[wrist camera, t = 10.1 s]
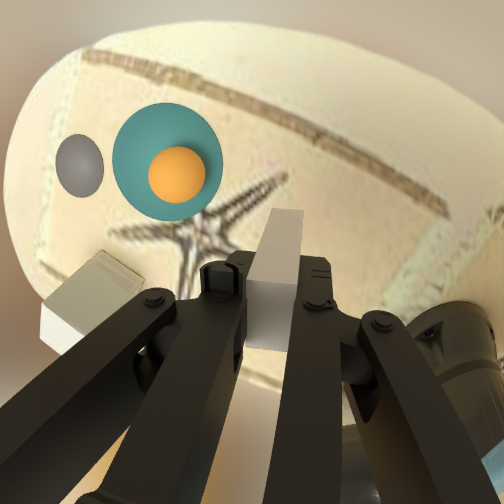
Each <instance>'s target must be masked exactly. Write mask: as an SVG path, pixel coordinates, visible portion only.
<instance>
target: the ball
mask: <svg viewBox="0 0 504 504" xmlns="http://www.w3.org/2000/svg"><path fill="white" fill-rule="evenodd" d="M148 179H149V184H150V186H151V189H152V190H153V192H154V193H155V194H156V195H157V196H158V197H159V198H160V199H162V200H164V201H166V202H170V203H182V202H186V201H188V200H190V199H192V198H193V197H195V196H196V195H197V194H198V192H199V191H200V190H201V188H202V186H203V184H204V180H205V168H204V164H203V162H202V160H201V159H200V157H199V156H198V155H197V154H196V153H195V152H194V151H192V150H190V149H188V148H185V147H180V146H175V147H170V148H167V149H165V150H163V151H161V152H160V153H159V154H157V155H156V157H155V158H154V159H153V161H152V162H151V165H150V167H149V172H148Z"/></svg>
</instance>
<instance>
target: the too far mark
mask: <svg viewBox="0 0 504 504" xmlns="http://www.w3.org/2000/svg"><path fill="white" fill-rule="evenodd" d="M103 170H104V169H103V160H102V156H101V153H100V151H99V149H98V147H97V146H96V144H95V143H94V142H93V141H92V140H91V139H89V138H88V137H86V136H84V135H72V136H70V137H68V138H66V139H65V140H64V141H63V142H62V143H61V145H60V146H59V149H58V151H57V155H56V172H57V176H58V178H59V181H60V183H61V184H62V186H63V187H64V189H65V190H66V191H67V192H69V193H70V194H71V195H73V196H75V197H80V198H83V197H88V196H90V195H92V194H93V193H94V192H95V191H96V190H97V189H98V188H99V186H100V184H101V182H102V178H103Z"/></svg>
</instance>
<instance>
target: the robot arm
mask: <svg viewBox="0 0 504 504" xmlns="http://www.w3.org/2000/svg"><path fill="white" fill-rule="evenodd" d="M303 213H304V211H301V210H289V209H277V208H272V210H271V213H270V216H269V218H268V221H267V224H266V227H265V229H264V232H263V235H262V238H261V240H260V243H259V246H258V248H257V251H256V252H251V251H241V250H236V251H235V252H233V253H232V254H230V255H229V256H228V258H227V260H226V261H213V262H209V263H207V264H205V265H203V266H202V267H201V268H200V281H201V293H200V295H199V297H198V298H195V299H189V300H175V295H174V294H173V292H172V291H170V290H168V289H165V288H150V289H146V290H144V291H142V292H140V293H138V294H137V295H136V296H135V297H133V298H132V299H131V300H129V301H128V302H127V303H126V304H124V305H123V306H122V307H121V308H119V309H118V310H117V311H116V312H114V313H113V314H112V315H111V316H109V317H108V318H107V319H106V320H104V321H103V322H102V323H101V324H99V325H98V326H97V327H96V328H94V329H93V330H92V331H91V332H89V333H88V334H87V335H86V336H84V337H83V338H82V339H81V340H80V341H78V342H77V343H76V344H75V345H73V346H72V347H71V348H70V349H69V350H67V351H66V352H65V353H64V354H63V355H61V356H60V357H59V358H58V359H57V360H55V361H54V362H53V363H52V364H51V365H49V366H48V367H47V368H46V369H45V370H44V371H42V372H41V373H40V374H39V375H38V376H36V377H35V378H34V379H33V380H32V381H31V382H30V383H28V384H27V385H26V386H25V387H24V388H23V389H21V390H20V391H19V392H18V393H17V394H16V395H14V396H13V397H12V398H11V399H10V400H9V401H8V402H6V403H5V404H4V405H3V406H2V407H1V408H0V504H59V503H60V502H61V501H62V500H63V499H64V498H65V497H66V496H67V495H68V493H69V492H70V491H71V490H72V489H73V488H74V487H75V486H76V485H77V484H78V483H79V482H80V480H81V479H82V478H83V477H84V476H85V475H86V474H87V473H88V472H89V471H90V469H91V468H92V467H93V466H94V465H95V464H96V463H97V462H98V460H99V459H100V458H101V457H102V456H103V455H104V454H105V453H106V452H107V451H108V449H109V448H110V447H111V446H112V445H113V444H114V443H115V441H116V440H117V439H118V438H119V437H120V436H121V435H122V434H123V433H124V431H125V430H126V429H127V428H128V427H129V426H130V427H129V429H128V431H127V433H126V435H125V437H124V439H123V441H122V443H121V445H120V447H119V449H118V451H117V453H116V455H115V457H114V459H113V461H112V463H111V465H110V467H109V469H108V471H107V473H106V475H105V477H104V479H103V481H102V483H101V485H100V486H99V488H98V489H97V490H95V491H94V492H90V493H86V494H83V495H82V496H81V497H80V498H78V500H77V501H76V502H75V504H200V503H201V499H202V496H203V493H204V490H205V486H206V483H207V479H208V476H209V473H210V470H211V466H212V463H213V459H214V456H215V453H216V450H217V446H218V443H219V439H220V436H221V433H222V429H223V426H224V422H225V419H226V415H227V412H228V409H229V405H230V401H231V398H232V395H233V391H234V388H235V384H236V381H237V377H238V374H239V370H240V366H241V363H242V359H243V345H244V342H245V338H246V347H249V348H257V349H265V350H273V351H282V352H287V359H286V367H285V374H284V380H283V387H282V394H281V400H280V408H279V413H278V420H277V426H276V432H275V438H274V444H273V449H272V455H271V460H270V467H269V471H268V477H267V482H266V488H265V492H264V498H263V502H262V504H501V503H500V500H499V498H498V496H497V495H498V494H500V493H501V492H503V491H504V377H503V375H502V373H501V371H500V368H499V366H498V363H497V353H496V345H495V336H494V330H493V327H492V324H491V323H490V321H489V319H488V317H487V316H486V314H485V313H484V311H483V310H482V309H480V308H479V307H478V306H476V305H474V304H471V303H466V302H453V303H447V304H444V305H440V306H438V307H435V308H433V309H431V310H429V311H427V312H425V313H423V314H422V315H420V316H419V317H418V318H416V319H415V320H414V321H412V322H411V323H410V324H409V325H408V326H407V327H405V326H404V324H403V323H402V321H401V320H400V319H399V318H398V317H397V316H395V315H393V314H392V313H389V312H386V311H381V310H373V311H369V312H367V313H365V314H364V315H363V316H362V319H358V318H355V317H351V316H349V315H346V314H344V313H343V312H341V311H340V310H339V309H338V307H337V304H336V301H335V300H333V288H332V276H331V264H330V263H329V262H328V261H327V260H326V258H324V257H314V256H303V255H300V250H301V238H302V226H303ZM143 347H144V349H143V350H142V351H141V352H139V351H140V350H141V349H142V348H143ZM138 352H139V353H138ZM342 381H343V386H344V389H345V392H346V395H347V398H348V401H349V404H350V407H351V410H352V413H353V416H354V419H355V422H356V424H351V425H345V426H342Z"/></svg>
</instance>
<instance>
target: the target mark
mask: <svg viewBox="0 0 504 504" xmlns="http://www.w3.org/2000/svg"><path fill="white" fill-rule="evenodd" d="M175 146H180V147H185V148H188V149H190V150H192V151H194V152H195V153H196V154H197V155H198V156H199V157H200V159H201V160H202V162H203V164H204V168H205V180H204V184H203V186H202V188H201V190H200V191H199V192H198V194H197V195H196V196H195V197H193V198H192V199H190V200H188V201H186V202H182V203H170V202H166V201H164V200H162V199H160V198H159V197H158V196H157V195H156V194H155V193H154V192H153V190H152V189H151V186H150V184H149V179H148V172H149V167H150V165H151V162H152V161H153V159H154V158H155V157H156V155H157V154H159V153H160V152H161V151H163V150H165V149H167V148H170V147H175ZM112 162H113V171H114V175H115V179H116V182H117V184H118V187H119V189H120V190H121V192H122V194H123V195H124V197H125V198H126V199H127V201H128V202H129V203H130V204H131V205H132V206H133V207H134V208H135V209H137V210H138V211H140V212H141V213H143V214H144V215H146V216H148V217H151V218H153V219H157V220H161V221H179V220H183V219H187V218H189V217H192V216H194V215H195V214H197V213H199V212H200V211H201V210H202V209H204V208H205V207H206V206H207V205H208V203H209V202H210V201H211V200H212V198H213V197H214V195H215V193H216V191H217V189H218V187H219V184H220V181H221V176H222V168H223V162H222V153H221V148H220V145H219V142H218V139H217V137H216V135H215V133H214V132H213V130H212V129H211V127H210V126H209V125H208V123H207V122H206V121H205V120H204V119H203V118H202V117H201V116H199V115H198V114H197V113H195V112H194V111H192V110H191V109H188V108H186V107H184V106H181V105H177V104H171V103H160V104H153V105H150V106H147V107H145V108H143V109H140V110H139V111H137V112H136V113H134V114H133V115H132V116H131V117H130V118H129V119H128V120H127V121H126V122H125V123H124V124H123V126H122V128H121V129H120V131H119V133H118V135H117V137H116V140H115V143H114V148H113V156H112Z"/></svg>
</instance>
